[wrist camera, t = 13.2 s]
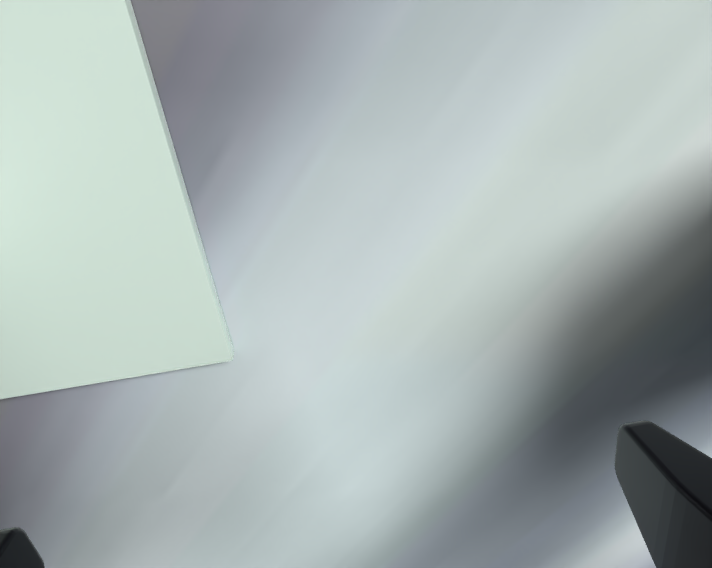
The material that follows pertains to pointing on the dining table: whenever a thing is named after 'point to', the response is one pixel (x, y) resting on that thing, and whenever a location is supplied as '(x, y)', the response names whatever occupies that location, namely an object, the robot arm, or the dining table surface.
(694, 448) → the robot arm
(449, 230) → the dining table surface
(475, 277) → the dining table surface
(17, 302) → the pad
